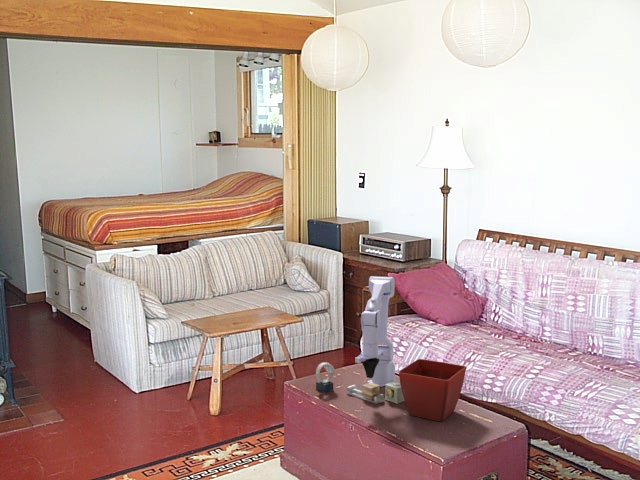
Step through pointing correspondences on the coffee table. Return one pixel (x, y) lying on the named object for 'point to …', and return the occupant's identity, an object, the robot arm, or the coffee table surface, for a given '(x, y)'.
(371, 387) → the carriage
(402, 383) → the plant pot
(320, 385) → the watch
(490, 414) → the coffee table surface
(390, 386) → the cabinet
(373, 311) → the robot arm
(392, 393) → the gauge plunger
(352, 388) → the rail
